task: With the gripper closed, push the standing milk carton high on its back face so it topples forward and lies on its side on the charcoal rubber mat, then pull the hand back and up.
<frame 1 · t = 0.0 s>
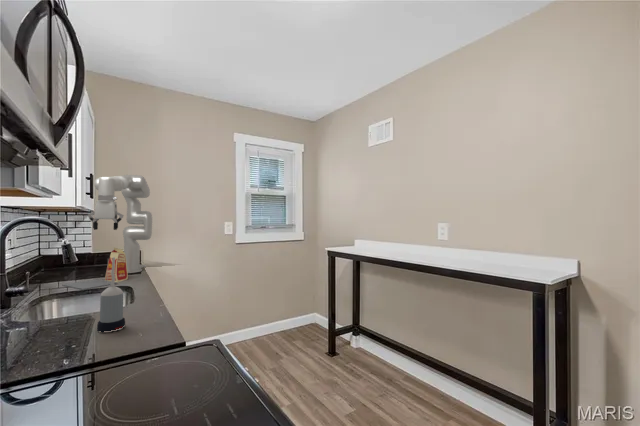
hand: (105, 229, 175), 31 cm above the counter, tool pointing down, fingers open, 9 cm apart
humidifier: (111, 329, 110), on the counter
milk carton: (116, 280, 190), on the counter
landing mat: (90, 284, 177), on the counter
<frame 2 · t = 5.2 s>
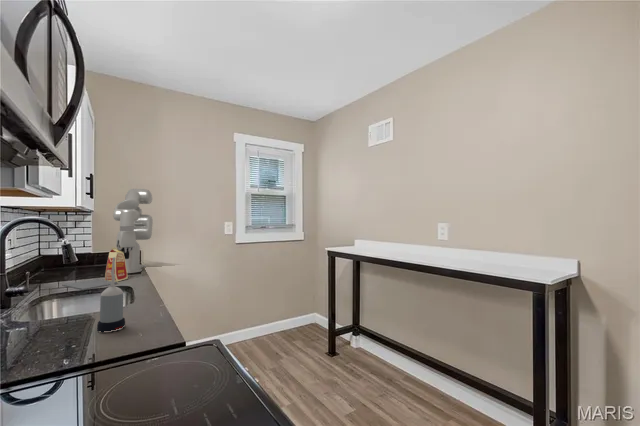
hand: (126, 258, 194), 12 cm above the counter, tool pointing down, fingers closed
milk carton: (116, 279, 190), on the counter, touching gripper
everything else where it was.
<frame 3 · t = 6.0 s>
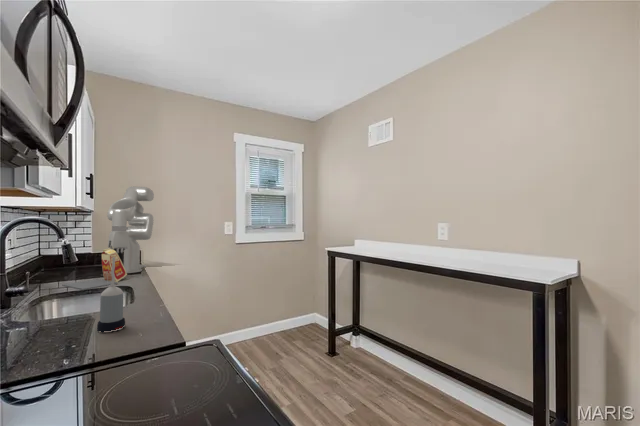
hand: (118, 259, 190), 12 cm above the counter, tool pointing down, fingers closed
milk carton: (116, 277, 189), point 1 cm above the counter, touching gripper
everything else where it was.
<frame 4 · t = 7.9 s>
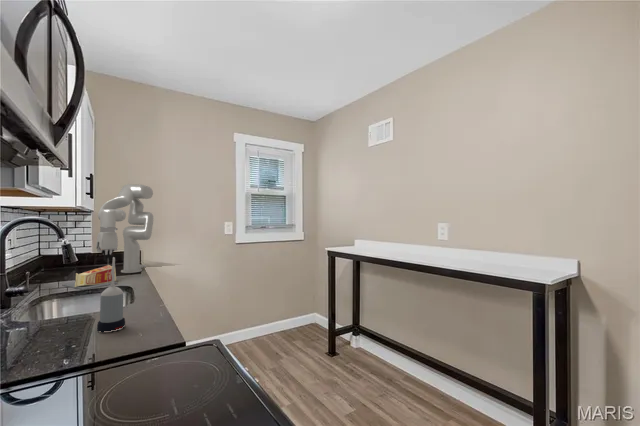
hand: (107, 261, 184), 12 cm above the counter, tool pointing down, fingers closed
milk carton: (110, 272, 185), point 6 cm above the counter, touching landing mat
everything else where it was.
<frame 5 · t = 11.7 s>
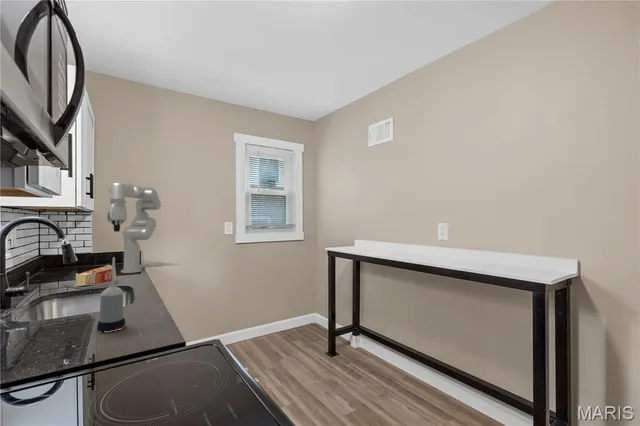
hand: (116, 231, 197), 29 cm above the counter, tool pointing down, fingers closed
nothing on the counter moved.
at the end: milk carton tilted 96°; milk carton touching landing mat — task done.
